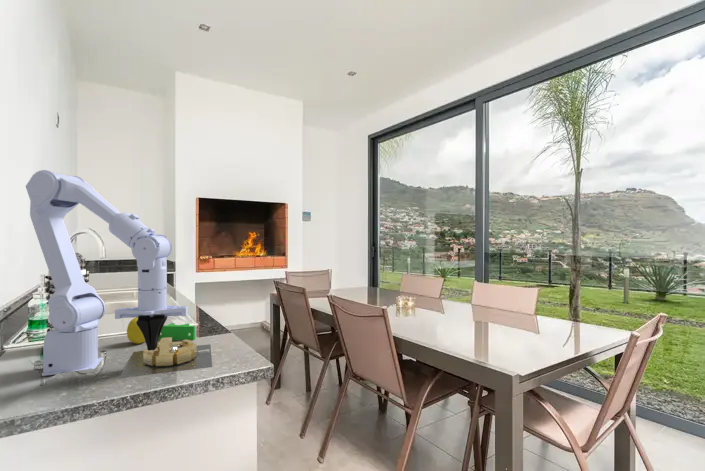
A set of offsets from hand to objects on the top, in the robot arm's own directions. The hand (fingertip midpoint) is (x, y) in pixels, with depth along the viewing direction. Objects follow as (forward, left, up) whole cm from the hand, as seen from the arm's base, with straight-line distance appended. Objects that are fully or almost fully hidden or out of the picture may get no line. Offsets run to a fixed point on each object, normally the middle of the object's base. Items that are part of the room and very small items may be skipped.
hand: (152, 349), depth 84 cm
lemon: (-6, +21, -5) cm, 22 cm away
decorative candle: (-23, +25, -5) cm, 34 cm away
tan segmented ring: (+3, +4, -4) cm, 6 cm away
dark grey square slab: (+3, +4, -4) cm, 7 cm away
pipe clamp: (+4, +22, -5) cm, 23 cm away
